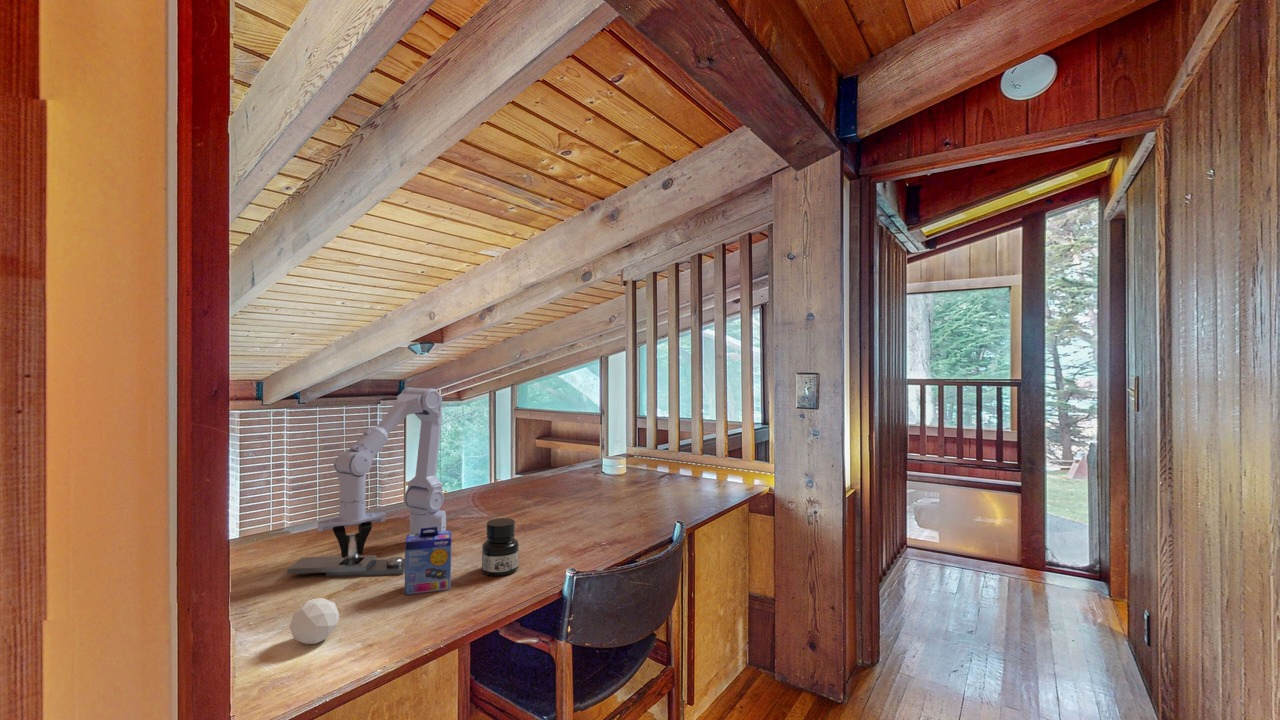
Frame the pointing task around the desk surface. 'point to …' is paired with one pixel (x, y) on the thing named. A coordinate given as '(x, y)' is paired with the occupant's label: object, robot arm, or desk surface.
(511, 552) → the ink bottle
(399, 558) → the end link lower
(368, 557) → the end link upper
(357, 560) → the steel pin
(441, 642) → the desk surface
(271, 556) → the desk surface
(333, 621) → the ball
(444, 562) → the ink cartridge box
